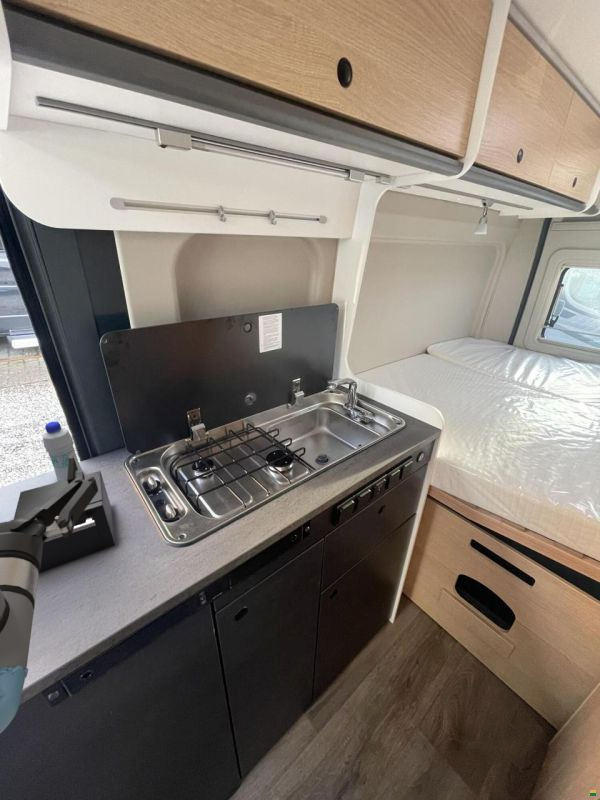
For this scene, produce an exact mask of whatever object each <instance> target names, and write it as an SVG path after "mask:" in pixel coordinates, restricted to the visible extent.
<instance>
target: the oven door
mask: <svg viewBox="0 0 600 800" xmlns="http://www.w3.org/2000/svg"><path fill="white" fill-rule="evenodd" d="M54 521H55V520H54ZM54 521H53V522H54ZM53 522H52V524H53ZM114 538H115V536H114V537H113V533H112V530H111V527H110V524H109V520H108V517H107V514H106V511H105V507H104V504H103V501H100V502H97V503H93V504H90V505H88V506H87V507H86V509H85V510H84V512H83V513H82V514H81V516H80V517H79V518H78V520H77V521H76V523H75V525H74V529H73V533H72V534H71V535H70V536H68V537H63V536H62V534H61V533H60V534H57V535H53V536H49V537H48V538H47V540H46V541H45V542H44V544H43V551H42V559H41V566H40V572H39V574H42V573H44V572H47V571H50V570H53V569H54V568H57V567H60V566H63V565H66V564H68V563H71V562H74V561H76V560H79V559H82V558H85V557H88V556H90V555H94V554H95V553H96V554H97V553H99V552H102V551H104V550H107V549H110V548H112V547H116V539H115V540H114Z"/></svg>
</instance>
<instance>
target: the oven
mask: <svg viewBox="0 0 600 800" xmlns="http://www.w3.org/2000/svg"><path fill="white" fill-rule="evenodd" d="M84 476H85V480H86V479H88V478H90V477H94V478H95V480H96V484H97V487H98V492H97V493H96V495H95V496H94V498H93V499H92V500H91V502H90V503H89V505H90V504H93V503H97V502H100V501H103V504H104V507H105V511H106V514H107V517H108V520H109V524H110V527H111V530H112V533H113V537H114V540H115V541H116V538H115V529H114V528H115V527H114V518H113V508H112V505H111V501H110V499H109V494H108V491H107V488H106V485H105V481H104V478H103V475H102V471H101V470H98V471H95V472H90V473H87V474H84ZM67 485H69V484H68V481H67V480H64V481H60V482H59V481H56V482H53V483H49V484H45V485H42V486H38V487H34V488H31V489H27V490H23V491H20V493H19V498H18V500H17V503H16V508H15V512H14V516H13V519H16V518H19V517H22V516H26V515H27V514H28V513H29V512H31V511H32V510H33V509H34V508H37V507H38V508H40V507H41V506H43V505H44V504H45V503H46V502H48V501H49V500H50V499H51V498H52V497H54V496H55V495H56V494H57V493H59V492H60V491H61V490H62V489H64V488H65V487H66V486H67ZM35 520H36V521H37V519H35Z"/></svg>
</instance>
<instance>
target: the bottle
mask: <svg viewBox="0 0 600 800" xmlns="http://www.w3.org/2000/svg"><path fill="white" fill-rule="evenodd" d="M44 428H45V431H46V432H44V433H43V434H42V442H43V447H44V449H45V451H46V453H48V456H49V459H50V461H51V464H52V466H53V469H54V473H55V477H56V479H57V482H60V481H64V480H67V476H68V463H69V459H70V458H74V459H75V462H76V465H77V468H78V470H82V471H83V469H82V467H81V465H80V462H79V460H78V456H77V453H76V451H75V448H74V447H75V446H74V440H73V437H72V435H71V433H70V431H69V430H68V429H67V428H66V427H62V426H61V424H60V422H58V421H50V422H47V423H46V424H45V426H44Z"/></svg>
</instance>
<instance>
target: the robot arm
mask: <svg viewBox="0 0 600 800" xmlns="http://www.w3.org/2000/svg"><path fill="white" fill-rule="evenodd" d="M84 475H85V473H84V470H83V469H82V470H78V468H77V465H76V462H75V459H74V458H70V459H69V463H68V476H67V481H68V484H69V485H67V486H66V487H65V488H64V489H62V490H61V491H60V492H59V493H57V494H56V495H55V496H54V497H52V498H51V499H50V500H49V501H48V502H46V503H45V504H44V505H43V506H41V507H40V508H38V507H37V508H34V509H33V510H32V511H31V512H29V513H28V514H27V515H26V516H22V517H19V518H16V519H14V518H13V519H10V520H8V521H2V522H0V734H1V733H3V732H4V731H5V730H6V729H7V728H8V726H9V725H10V723H12V722H13V720H14V718H15V717H16V715H17V713H18V710H19V707H20V705H21V699H22V695H23V690H24V686H25V681H26V678H27V676H28V673H29V668H28V662H29V661H28V660H29V651H30V644H31V637H32V628H33V622H34V613H35V606H36V599H37V591H38V585H39V578H40V577H39V576H40V573H39V572H40V566H41V559H42V551H43V544H44V542H45V541H46V540H47V538H48V537H49V536H53V535H57V534H60V533H61V534H62V536H63V537H68V536H70V535H71V534H72V533H73V529H74V525H75V523H76V521H77V520H78V518H79V517H80V516H81V514H82V513H83V512H84V510H85V509H86V507H87V506H88V505H89V503H90V502H91V500H92V499H93V498H94V496H95V495H96V493H97V492H98V487H97V484H96V480H95V478H94V477H90V478H88V479H86V480H85V476H84ZM35 519H37V521H36V520H35ZM54 520H55V521H54ZM53 521H54V522H53ZM52 522H53V524H52Z"/></svg>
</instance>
